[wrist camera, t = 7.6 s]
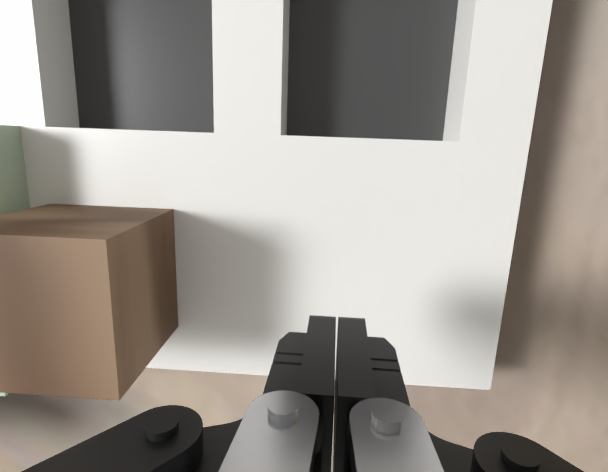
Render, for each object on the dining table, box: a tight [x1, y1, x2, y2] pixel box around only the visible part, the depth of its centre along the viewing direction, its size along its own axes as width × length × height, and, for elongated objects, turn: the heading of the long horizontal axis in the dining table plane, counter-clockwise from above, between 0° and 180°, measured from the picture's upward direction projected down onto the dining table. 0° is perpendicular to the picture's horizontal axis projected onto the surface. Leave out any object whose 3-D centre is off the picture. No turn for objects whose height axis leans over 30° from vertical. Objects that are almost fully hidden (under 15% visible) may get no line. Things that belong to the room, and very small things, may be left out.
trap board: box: [0, 0, 553, 396], centre depth 15 cm, size 20×18×5 cm
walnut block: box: [0, 204, 178, 400], centre depth 14 cm, size 5×5×5 cm
